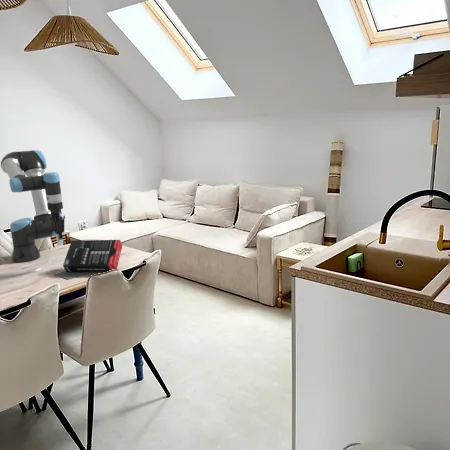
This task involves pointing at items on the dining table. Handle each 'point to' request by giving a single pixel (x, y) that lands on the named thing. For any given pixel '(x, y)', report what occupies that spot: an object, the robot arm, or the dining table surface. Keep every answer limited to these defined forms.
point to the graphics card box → (92, 255)
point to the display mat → (70, 274)
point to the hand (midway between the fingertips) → (60, 244)
